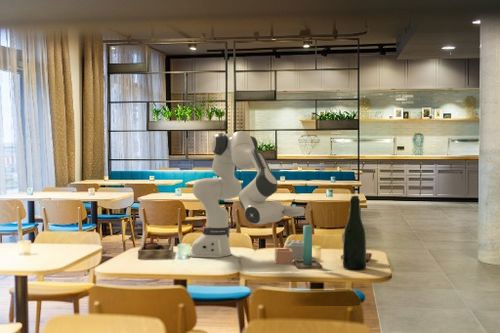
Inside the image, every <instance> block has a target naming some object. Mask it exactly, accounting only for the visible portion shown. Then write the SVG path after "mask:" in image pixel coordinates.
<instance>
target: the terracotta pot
mask: <svg viewBox="0 0 500 333" xmlns="http://www.w3.org/2000/svg"><path fill="white" fill-rule="evenodd" d="M274 261H275V264H278V265H281V264H282V265H286V264H287V265H288V264H291V265H292V264H294V259H293V251H292V250H291V249H286V248H274Z"/></svg>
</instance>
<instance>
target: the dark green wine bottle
mask: <svg viewBox="0 0 500 333" xmlns="http://www.w3.org/2000/svg"><path fill="white" fill-rule="evenodd" d="M360 203H361V200H360V198H359V195H351V197H350V199H349V216H348V219H347V223H346V224H345V226H344V230H343V232H344V239H343V241H342V255H343V259H342V267H343V268H344V269H345V270H349V271H362V270H365V269H366V268H367V261H366V253H367V234H366V233H367V232H366V229H365V226H364V223H363V221H362V217H361V211H360V210H361V208H360V206H361V205H360Z"/></svg>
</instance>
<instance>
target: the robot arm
mask: <svg viewBox="0 0 500 333" xmlns="http://www.w3.org/2000/svg"><path fill="white" fill-rule="evenodd" d="M210 146H211V150H212V153H213V154H214V156H213V160H212V161H213V162H212V165H211V168H212V172H213V173H214V174H215V175H216V176H218V177H206V178H200V179H197V180H196V181H195V182H194V183H193V185H192V193H193V194H192V195H193V196H194V197H195V199H197V200H198V201H199V202H200V203H201V204H202V205H203V207H204V211H205V215H206V216H205V217H206V219H205V220H206V226H202V227H201V230H202V234H201V235H200V236H199V237H197V238H196V239H195V240H194V241H193V242H192V244H191V249H190V251H191V252H190V256H188V257H193V258H221V257H228V256H231V255H232V251H231V246H230V239H229V238H230V226H229V212H228V210H227V209H226V208H225V207H223V206H221V205H220V204H219V200H232V199H234V198H238V200H239V204H240V206H241V208H242V209H243V211H244V217H245V219H246V221H247V222H248V223H250V224H253V225H265V224H268V223H270V224H271V223H276V222H280V221H281V220H282V219H283V218H284V217H293V218H294V217H303V216H305V214H306V213H305V207H304V206H294V205H284V204H282V203H281V202H280V201H278V200H272V201H266V200H267V199H268V198H270V197H271V196H273V195H274V194H275V193H276V192H277V191H278V180H277V178H276V177H275V176H274V174H273V173H272V170H271V168H270V166H269V163H268V162H267V159H266V158H265V156H264V154H263V153H262V151H260V150H258V149H259V148H258V140H257V138H256V137H255V136H252V135H250V134H249V133H248V132H246V131H245V130H244V131H243V130H238V131H236V132H234V133H223V132H220V133H216V134H214V136H212V140H211V144H210ZM235 168H238V169H241V170H252V169H253V168H255V170H256V172H257V174H256V175H255V177H254V178H253V180H251V181H250V182H249V183H248V184H247V185H246V186H244V187H243V188H242V183H241V181H240V180H239V179H238V178H237V177H236V176H235Z"/></svg>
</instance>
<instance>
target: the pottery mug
mask: <svg viewBox="0 0 500 333" xmlns="http://www.w3.org/2000/svg"><path fill="white" fill-rule="evenodd" d="M158 244H159V243H157V242H156V241H148V242H145V243H143V246H144V247H143V248H142V250H160V248H161V250H164V247H163V246H162V245H158Z"/></svg>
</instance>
